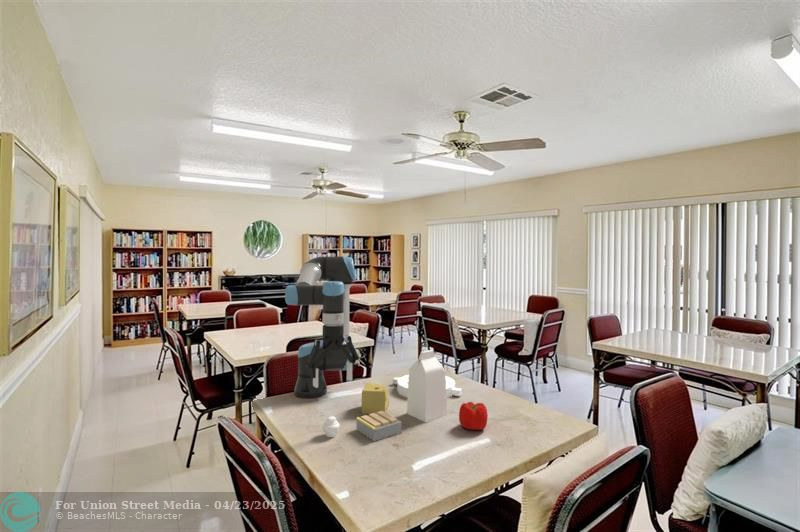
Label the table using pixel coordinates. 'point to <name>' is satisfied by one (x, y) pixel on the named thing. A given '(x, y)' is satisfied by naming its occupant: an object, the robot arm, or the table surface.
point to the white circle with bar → (403, 386)
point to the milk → (427, 388)
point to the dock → (378, 425)
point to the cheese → (374, 398)
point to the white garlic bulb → (331, 427)
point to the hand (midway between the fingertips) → (333, 383)
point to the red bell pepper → (473, 416)
